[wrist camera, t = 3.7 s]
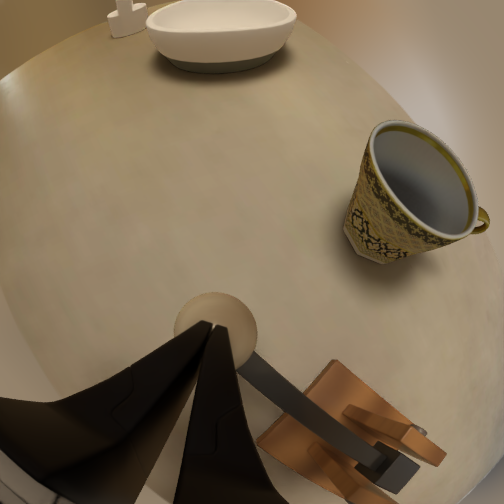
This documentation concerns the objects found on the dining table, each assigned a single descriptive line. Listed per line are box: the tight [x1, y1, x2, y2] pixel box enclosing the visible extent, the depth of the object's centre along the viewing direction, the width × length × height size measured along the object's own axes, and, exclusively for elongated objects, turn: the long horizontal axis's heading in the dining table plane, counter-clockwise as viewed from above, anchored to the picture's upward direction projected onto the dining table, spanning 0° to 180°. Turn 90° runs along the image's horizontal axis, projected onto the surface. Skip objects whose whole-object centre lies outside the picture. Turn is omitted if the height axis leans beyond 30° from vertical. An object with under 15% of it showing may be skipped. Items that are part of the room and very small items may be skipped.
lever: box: [174, 292, 420, 494], centre depth 10 cm, size 16×3×3 cm, turn 47°
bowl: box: [146, 0, 297, 73], centre depth 31 cm, size 22×22×8 cm
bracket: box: [256, 360, 447, 504], centre depth 13 cm, size 11×9×10 cm
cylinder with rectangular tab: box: [107, 0, 148, 38], centre depth 34 cm, size 9×9×12 cm
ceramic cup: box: [343, 120, 490, 264], centre depth 19 cm, size 13×10×10 cm
